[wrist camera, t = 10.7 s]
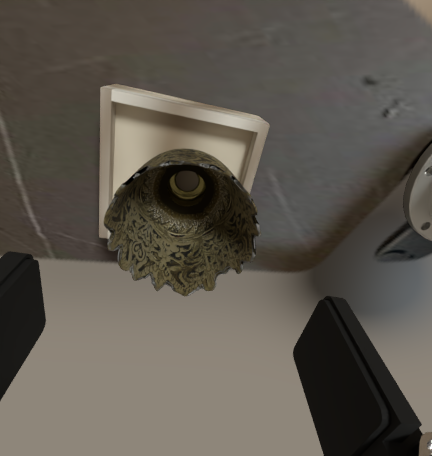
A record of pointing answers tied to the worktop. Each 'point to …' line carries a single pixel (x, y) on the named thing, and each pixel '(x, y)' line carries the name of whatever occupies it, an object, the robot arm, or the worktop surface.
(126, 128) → the birch tray
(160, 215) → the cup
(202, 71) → the worktop surface
